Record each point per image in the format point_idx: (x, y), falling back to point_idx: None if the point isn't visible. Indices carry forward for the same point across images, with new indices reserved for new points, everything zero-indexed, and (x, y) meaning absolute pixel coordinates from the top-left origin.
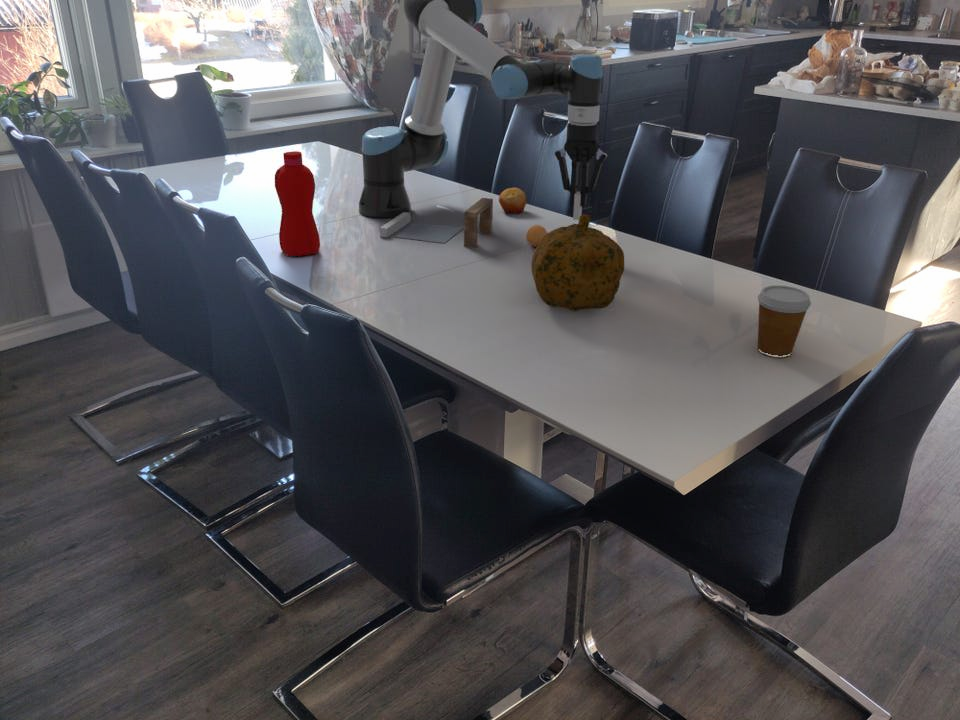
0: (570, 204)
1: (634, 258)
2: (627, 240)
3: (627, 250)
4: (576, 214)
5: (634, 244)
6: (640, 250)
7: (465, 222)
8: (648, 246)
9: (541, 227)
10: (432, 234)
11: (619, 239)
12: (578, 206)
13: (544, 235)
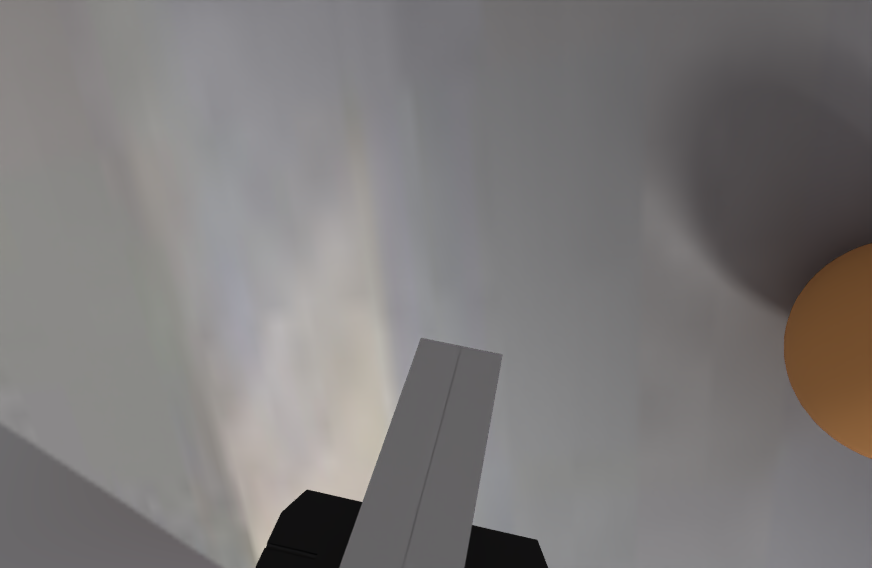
0: (541, 555)
1: (8, 111)
2: (165, 475)
3: (110, 287)
4: (446, 394)
5: (103, 409)
6: (30, 299)
7: None
8: (12, 382)
9: None
10: None
11: (216, 489)
12: (394, 480)
13: (839, 302)
